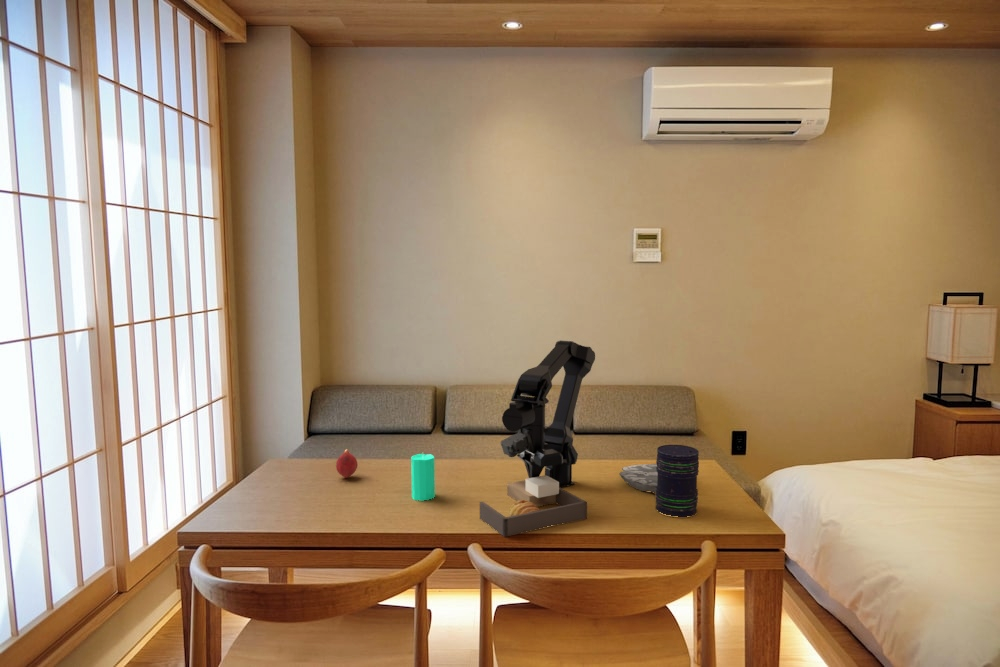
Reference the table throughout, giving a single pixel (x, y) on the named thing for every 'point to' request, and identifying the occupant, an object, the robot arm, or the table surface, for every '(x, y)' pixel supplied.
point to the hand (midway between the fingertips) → (533, 483)
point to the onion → (346, 464)
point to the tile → (542, 486)
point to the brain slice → (641, 476)
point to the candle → (423, 477)
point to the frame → (536, 515)
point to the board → (527, 494)
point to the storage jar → (677, 480)
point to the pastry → (523, 507)
